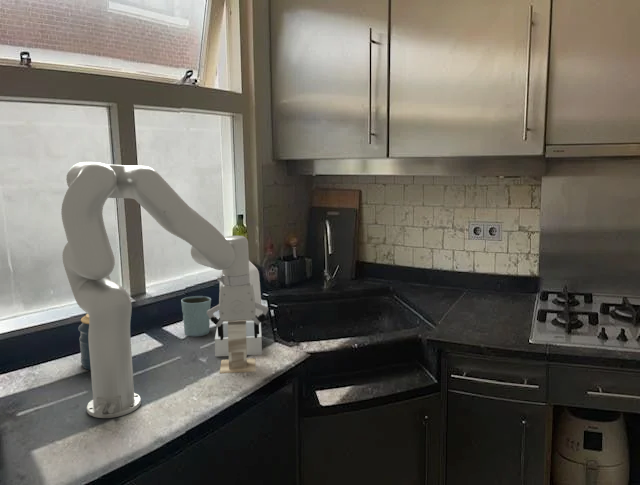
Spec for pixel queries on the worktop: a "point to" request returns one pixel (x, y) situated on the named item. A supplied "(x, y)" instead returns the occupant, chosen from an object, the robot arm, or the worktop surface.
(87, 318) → the canister
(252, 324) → the bin
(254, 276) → the milk
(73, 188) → the robot arm
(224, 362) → the square lid with knob
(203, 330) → the teal cup
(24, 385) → the worktop surface
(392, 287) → the worktop surface
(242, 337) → the strut
